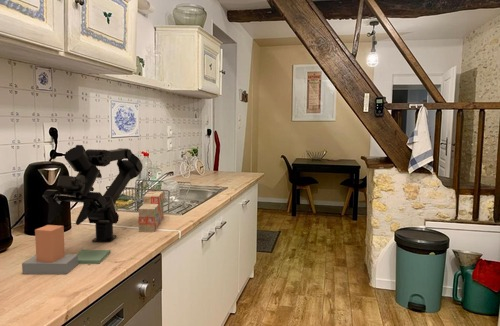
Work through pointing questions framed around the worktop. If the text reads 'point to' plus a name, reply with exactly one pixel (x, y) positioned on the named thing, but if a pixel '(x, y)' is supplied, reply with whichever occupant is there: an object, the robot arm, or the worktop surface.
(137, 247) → the worktop surface
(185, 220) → the worktop surface
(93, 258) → the green mat
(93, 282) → the worktop surface
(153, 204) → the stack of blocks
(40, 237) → the terracotta block
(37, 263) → the slate block
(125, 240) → the worktop surface
